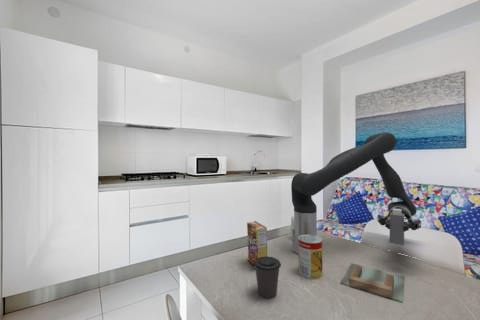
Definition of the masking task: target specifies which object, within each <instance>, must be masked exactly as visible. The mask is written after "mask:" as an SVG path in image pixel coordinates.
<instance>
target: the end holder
mask: <svg viewBox="0 0 480 320" xmlns="http://www.w3.org/2000/svg"><path fill="white" fill-rule="evenodd" d="M339 283H340V284H341V285H344V286H347V287H350V288H354V289H357V290H360V291H364V292H367V293H369V294H373V295H377V296H379V297H382V298H386V299H389V300H393V301H395V302H397V303H398V302H399V303H403V299H404V287H405V276H404V275H399V274H397V273H392V272H388V271H384V270H380V269H376V268H372V267H368V266H364V265H360V264H357V263H356V264H355V263H350V265H349V266H348V267H347V270H346V271H345V273H344V275H343V276H342V279H341V280H340V282H339Z"/></svg>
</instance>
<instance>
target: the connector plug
mask: <svg viewBox="0 0 480 320" xmlns="http://www.w3.org/2000/svg"><path fill="white" fill-rule="evenodd" d="M403 225H404V214H402V213H401V209H394V208H393V212H391V213H390V229H389V244H393V245H398V246H399V245H400V246H405V232H404V231H403Z"/></svg>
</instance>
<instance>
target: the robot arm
mask: <svg viewBox="0 0 480 320" xmlns="http://www.w3.org/2000/svg"><path fill="white" fill-rule="evenodd" d="M364 143H365V144H362V145H359V146H356V147H352V148H350V149H346V150H345V151H343V152H341V153H339V154H337V155H335V156H334V157H332V158H331V159H330V160H329V161H328V163H327V164H326V166H324V167H322V168H320V169H318V170H315V171H314V172H310V173H308V172H307V173H306V172H298V173H296V174H295V175H294V176H293V177H292V179H291V184H290V185H291V202H292V206H293V216H294V228H293V229H292V238H291V240H292V242H291V243H292V245H291V246H292V252H295V253H296V254H298V255H299V249H298V237H299V236H301V235H315V236H318V231H317V229H318V226H317V225H318V221H317V220H318V219H317V218H318V217H317V216H318V215H317V213H318V210H317V205H316V204H315V202H314V201H313V198H312V196H315V195H317V194H318V193H320V192H321V191H322V190H324V189H325V188H326V187H328V186H329V185H331V184H332V183H334V182H336V181H338V180H340V179H341V178H343V177H345V176H347V175H349V174H350V173H352V172H354V171H356V170H357V169H359V168H361V167H362V166H364V165H366V164H368V163H369V162H370V161H372V162H373V164H374V166H375V168H376V169H377V171H378V173H379V175H380V178H381V179H382V182H383V186H384V189H385V192H386V194H387V196H388V197H389V198H393V199H400V200H399V201H392V202H390V203H388V204H387V211H388V213H387V215H385V216H383V215H381V214H377V222H378V223H379V225H381V226H385V228H386V229H387V230H390V213H391V212H393V208H394V209H401V213H402V214H404V225H403V231H404V233H405V232H407V231H409V230H410V229H411V230H412V231H416V230H419V229H421V228H422V220H421V219H417V220H415V219H414V220H413V219H412V217H414V216H415V215H416V214H417V207H416V205H415V204H414V202H413V201H412V200H411V198H410V197H409V196H408V194H407V192H406V190H405V188H404V184H403V182H402V181H403V180H402V179H401V177H400V175H399V174H398V172H397V171H396V170H395V169H394V168H393V167H392V166H391V165H390V164H389V163H388V161H387V159H386V157H385V154H387V153H390V152H392V151H393V150H394V149H395V148H396V146H397V138H396V136H395V135H394V134H392V133H390V132H380V133H376V134H372V135H370V136H368V137H367V138H366V139H365V142H364Z"/></svg>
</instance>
